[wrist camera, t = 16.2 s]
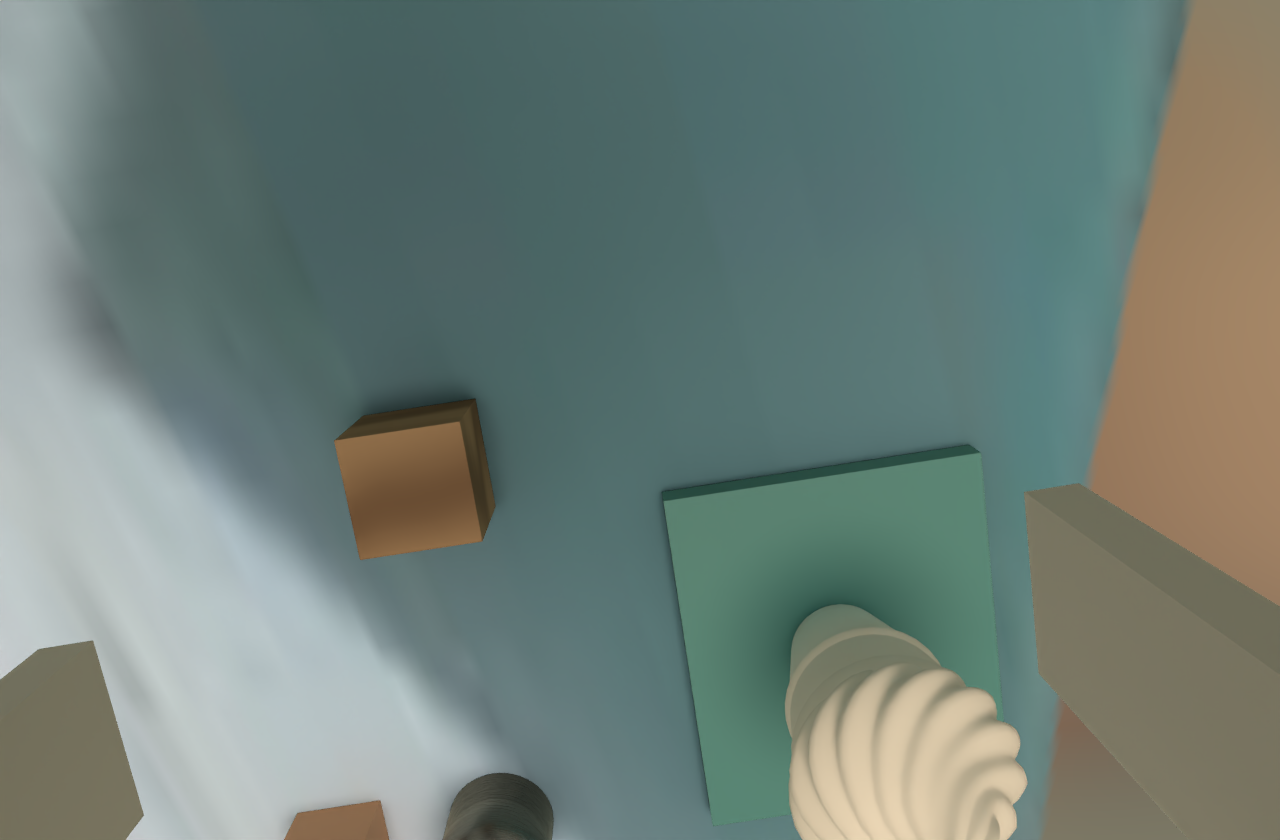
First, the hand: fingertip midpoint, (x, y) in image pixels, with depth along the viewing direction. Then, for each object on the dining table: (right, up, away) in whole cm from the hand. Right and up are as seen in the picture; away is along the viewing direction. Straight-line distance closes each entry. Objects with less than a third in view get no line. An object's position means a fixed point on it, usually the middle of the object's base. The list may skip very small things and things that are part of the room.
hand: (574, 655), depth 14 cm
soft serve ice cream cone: (+10, -7, +33) cm, 35 cm away
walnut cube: (-8, +1, +32) cm, 33 cm away
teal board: (+10, -7, +34) cm, 36 cm away
